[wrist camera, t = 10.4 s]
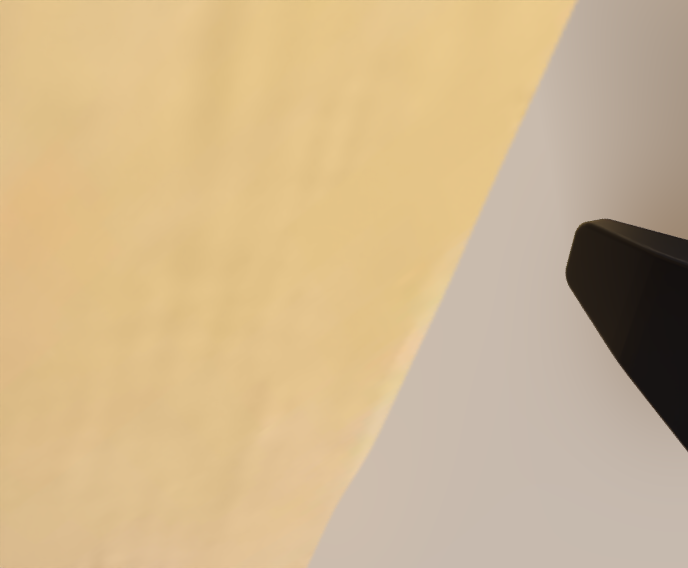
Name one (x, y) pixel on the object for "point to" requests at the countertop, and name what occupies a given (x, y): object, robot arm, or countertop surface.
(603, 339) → the robot arm
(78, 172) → the countertop surface
